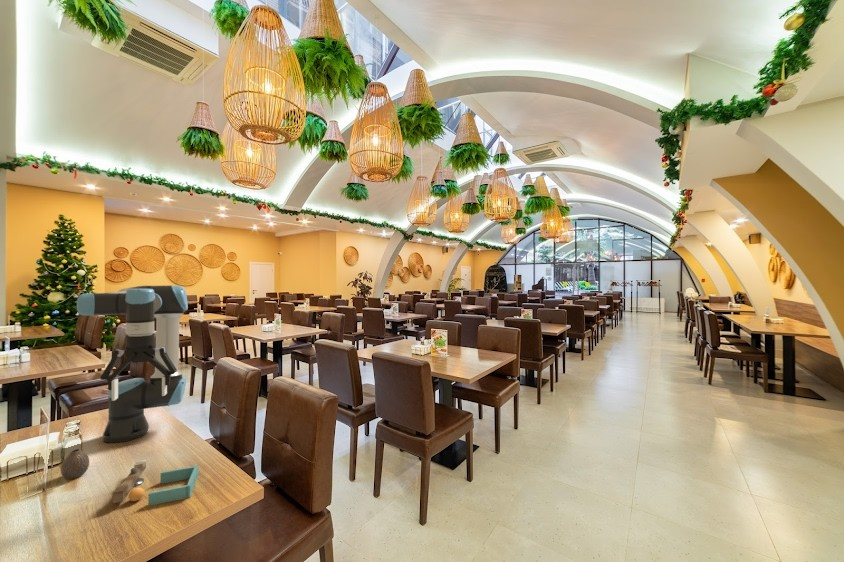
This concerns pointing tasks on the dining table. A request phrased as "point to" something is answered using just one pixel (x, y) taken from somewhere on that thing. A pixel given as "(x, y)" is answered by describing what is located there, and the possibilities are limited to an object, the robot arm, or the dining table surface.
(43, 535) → the dining table surface
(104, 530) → the dining table surface
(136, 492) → the ball
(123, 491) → the lever
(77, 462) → the vase
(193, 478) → the teal arch
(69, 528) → the dining table surface
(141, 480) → the pivot base
